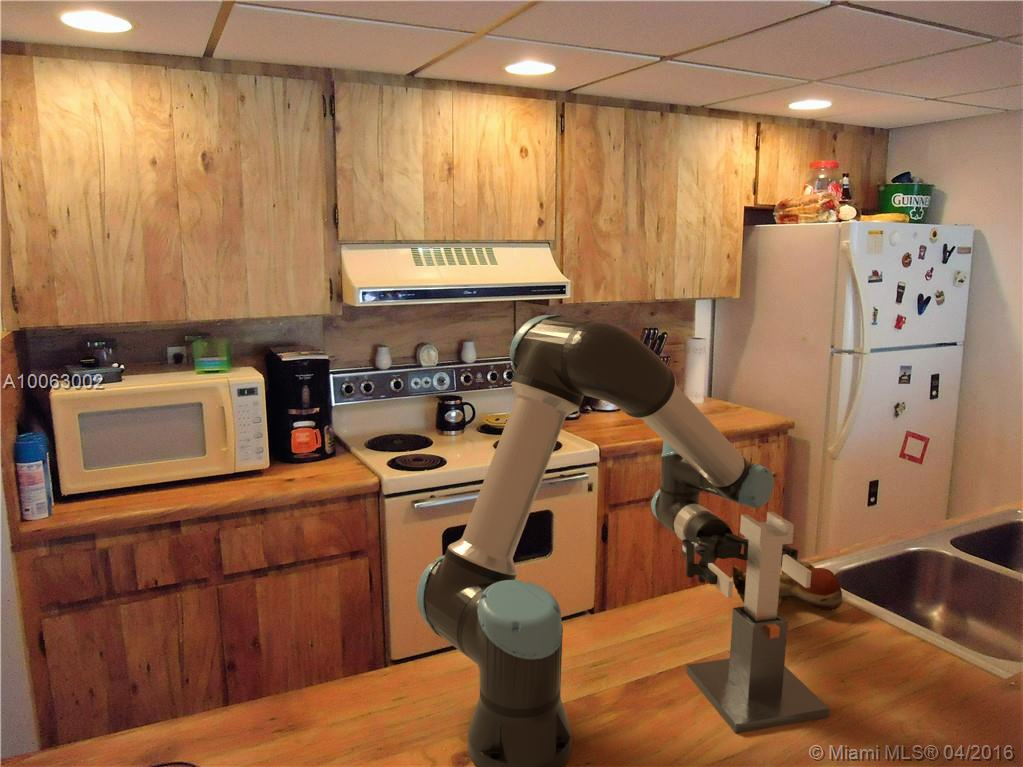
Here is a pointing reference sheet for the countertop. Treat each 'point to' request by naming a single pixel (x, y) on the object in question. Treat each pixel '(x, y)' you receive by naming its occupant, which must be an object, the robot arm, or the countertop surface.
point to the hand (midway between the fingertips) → (770, 584)
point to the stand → (756, 679)
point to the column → (764, 564)
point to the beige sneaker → (802, 587)
